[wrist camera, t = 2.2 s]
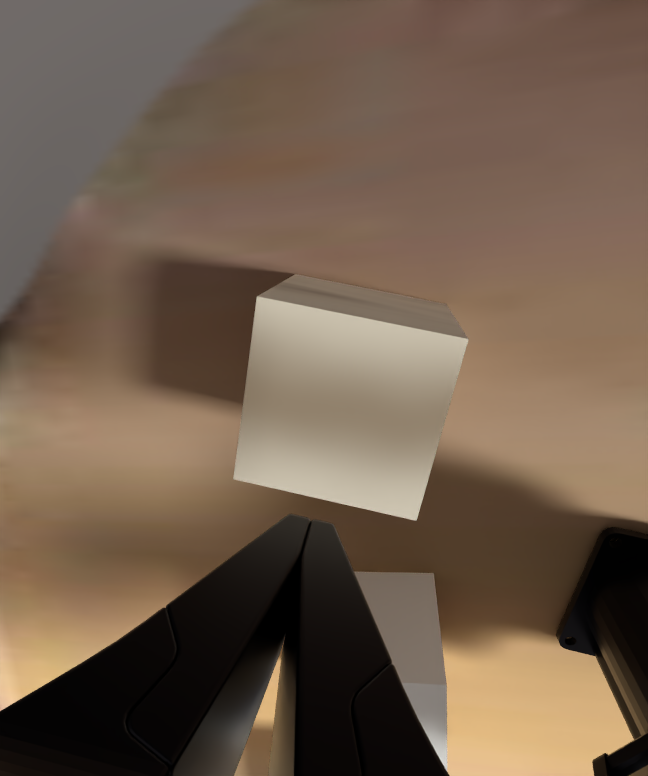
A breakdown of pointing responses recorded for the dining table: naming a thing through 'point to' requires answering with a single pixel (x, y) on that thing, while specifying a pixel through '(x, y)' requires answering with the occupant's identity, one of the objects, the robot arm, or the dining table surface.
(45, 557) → the dining table surface
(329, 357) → the plain ash cube
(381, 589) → the off-white numbered cube
